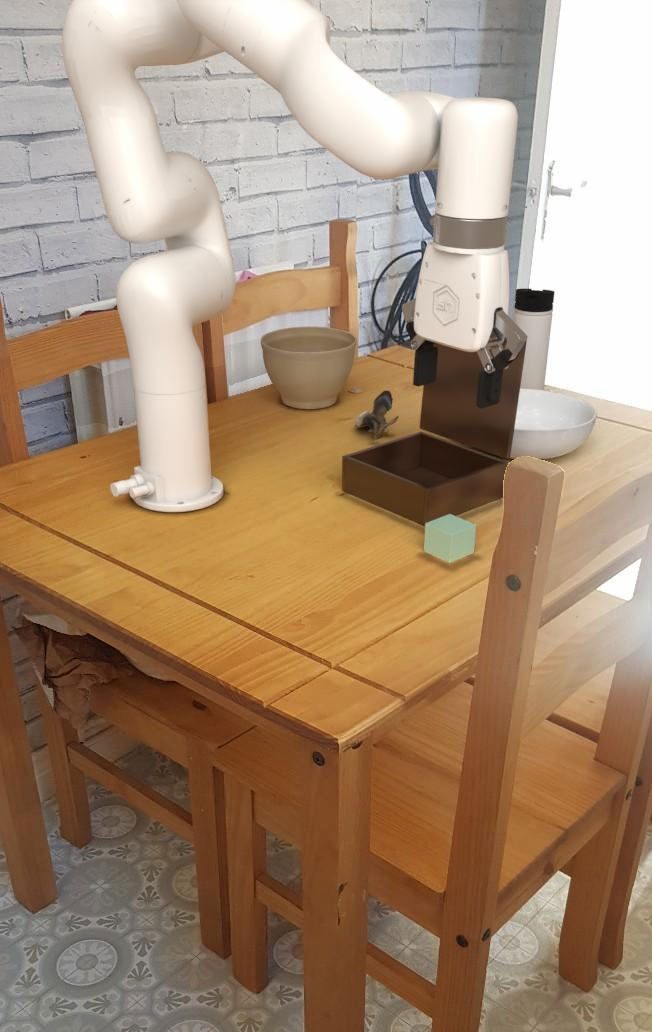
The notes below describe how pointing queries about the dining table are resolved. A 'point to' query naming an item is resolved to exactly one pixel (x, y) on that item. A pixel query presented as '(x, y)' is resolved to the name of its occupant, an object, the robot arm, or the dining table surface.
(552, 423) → the serving bowl
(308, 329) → the planter bowl
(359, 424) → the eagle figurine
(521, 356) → the lid
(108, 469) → the dining table surface
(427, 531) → the block
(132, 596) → the dining table surface
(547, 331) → the travel mug
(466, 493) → the box
